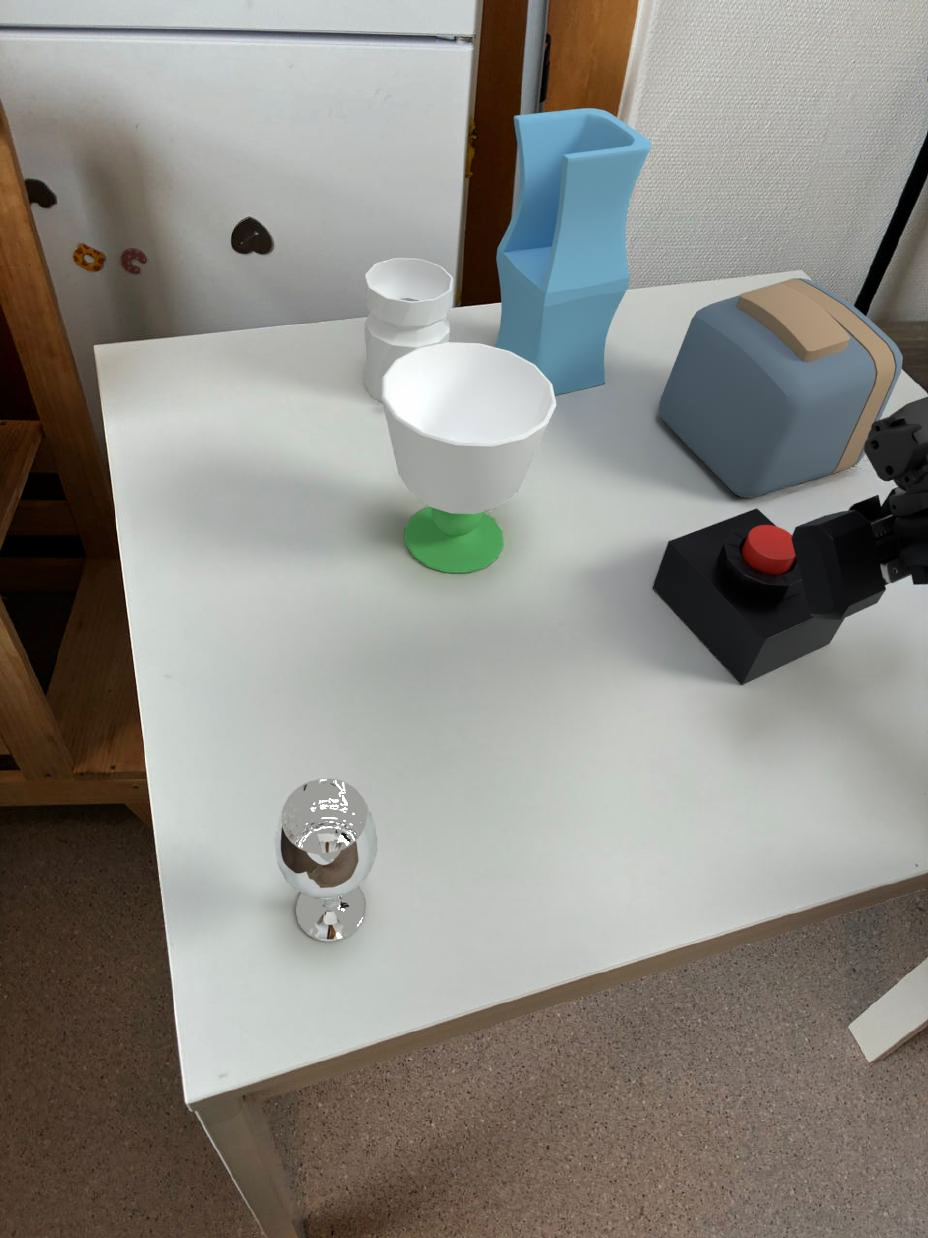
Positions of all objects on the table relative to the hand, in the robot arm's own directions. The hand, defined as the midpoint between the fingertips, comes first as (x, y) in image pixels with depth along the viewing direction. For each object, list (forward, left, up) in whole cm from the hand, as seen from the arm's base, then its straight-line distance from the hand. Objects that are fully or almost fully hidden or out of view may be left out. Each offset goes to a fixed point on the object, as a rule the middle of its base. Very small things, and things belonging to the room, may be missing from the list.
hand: (817, 540), depth 67 cm
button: (+1, -3, -5) cm, 6 cm away
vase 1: (+25, -39, -12) cm, 48 cm away
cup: (+24, -15, -12) cm, 31 cm away
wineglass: (+38, +18, -12) cm, 44 cm away
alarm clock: (-10, -26, -12) cm, 30 cm away
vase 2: (+9, -41, -12) cm, 44 cm away
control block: (+1, -3, -12) cm, 12 cm away
